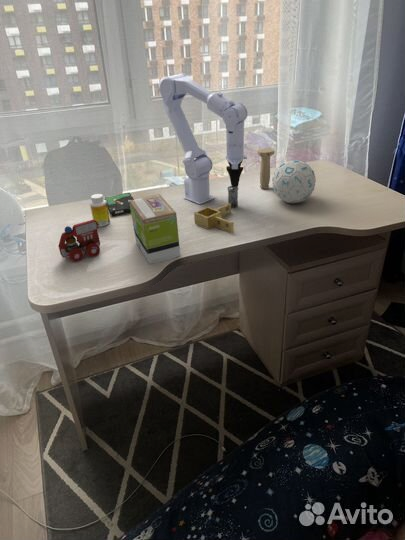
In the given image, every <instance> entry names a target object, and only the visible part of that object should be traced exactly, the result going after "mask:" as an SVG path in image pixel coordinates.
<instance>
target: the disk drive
mask: <svg viewBox="0 0 405 540" xmlns="http://www.w3.org/2000/svg"><path fill="white" fill-rule="evenodd" d="M103 198H104V200H106V202H107V207H108V213H109V214H110V216H111V217H112V218H113V217H117V216H118V217H119V216H123V215H128V214H131V209H130V202H129V200H135V198H134V197H133V196H132V194H131V193H130V192H125V193H119V194H115V195H112V196H105V197H103Z"/></svg>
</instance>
